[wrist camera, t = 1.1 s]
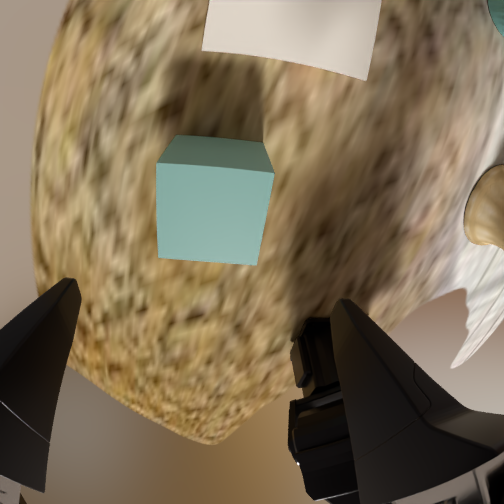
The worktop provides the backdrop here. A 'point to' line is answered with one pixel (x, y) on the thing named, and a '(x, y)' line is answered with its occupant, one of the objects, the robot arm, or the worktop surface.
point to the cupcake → (497, 14)
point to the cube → (212, 199)
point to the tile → (297, 32)
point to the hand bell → (486, 210)
